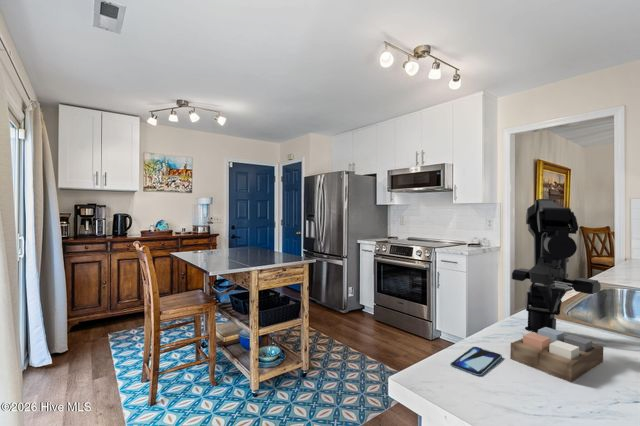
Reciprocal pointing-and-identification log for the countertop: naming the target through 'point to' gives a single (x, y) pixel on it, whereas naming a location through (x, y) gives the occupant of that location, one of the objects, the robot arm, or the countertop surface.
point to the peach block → (536, 340)
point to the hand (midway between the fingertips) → (551, 312)
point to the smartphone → (476, 361)
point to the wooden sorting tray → (557, 360)
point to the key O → (579, 342)
